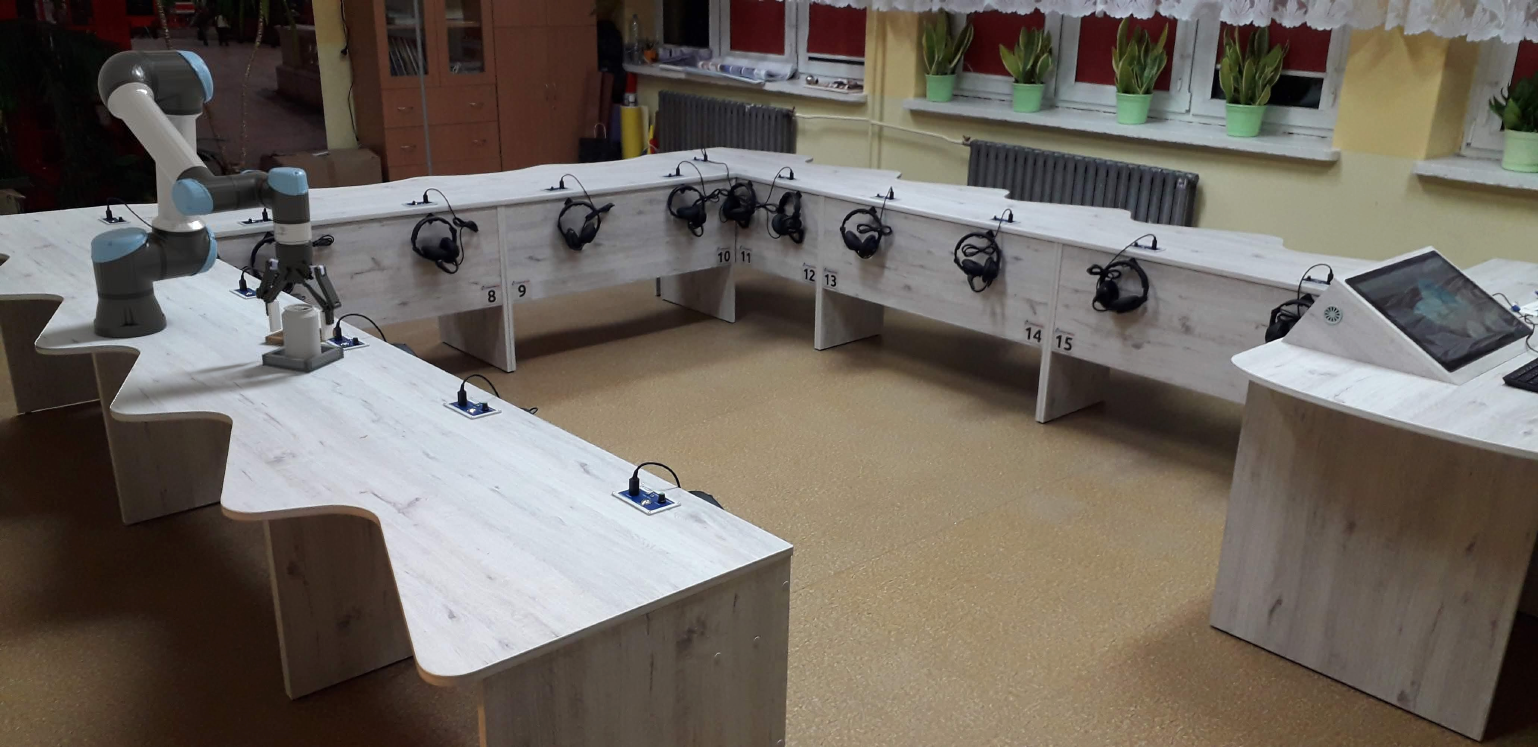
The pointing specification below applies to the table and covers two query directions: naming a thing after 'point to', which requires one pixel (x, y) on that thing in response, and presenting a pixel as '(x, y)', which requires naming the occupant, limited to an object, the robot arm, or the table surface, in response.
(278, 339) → the frame
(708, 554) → the table surface
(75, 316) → the table surface
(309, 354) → the can
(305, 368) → the tray
